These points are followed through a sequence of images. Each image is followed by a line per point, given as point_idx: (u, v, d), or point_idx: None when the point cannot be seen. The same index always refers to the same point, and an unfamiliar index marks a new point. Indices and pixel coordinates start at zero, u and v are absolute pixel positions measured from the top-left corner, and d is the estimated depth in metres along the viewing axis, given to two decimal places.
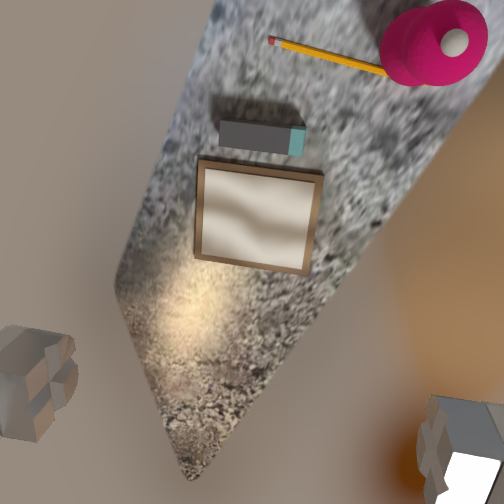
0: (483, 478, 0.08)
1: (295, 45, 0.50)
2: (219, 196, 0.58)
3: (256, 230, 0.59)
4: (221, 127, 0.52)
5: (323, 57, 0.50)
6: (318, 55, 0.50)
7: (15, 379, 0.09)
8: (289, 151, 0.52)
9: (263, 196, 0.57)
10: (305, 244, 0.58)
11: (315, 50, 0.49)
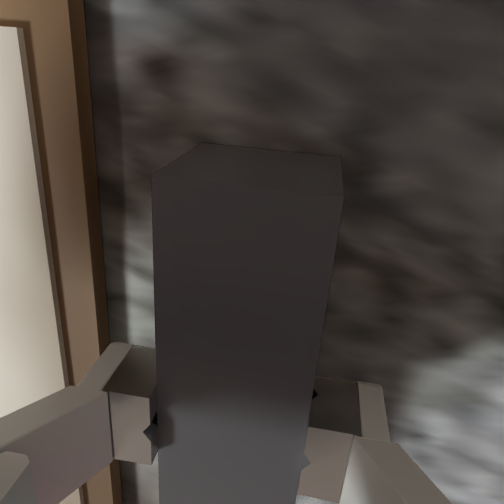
0: (338, 451, 0.08)
1: None
2: None
3: None
4: (288, 205, 0.07)
5: None
6: None
7: (138, 401, 0.08)
8: None
9: None
10: None
11: None
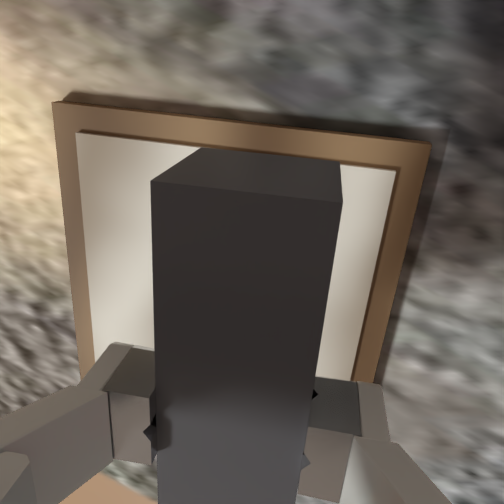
0: (338, 451, 0.08)
1: None
2: None
3: None
4: (287, 210, 0.07)
5: None
6: None
7: (137, 401, 0.08)
8: None
9: None
10: None
11: None
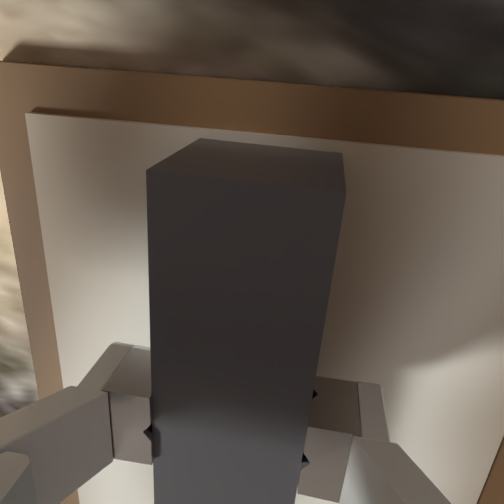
0: (337, 452, 0.08)
1: None
2: (403, 242, 0.10)
3: None
4: (288, 201, 0.07)
5: None
6: None
7: (138, 401, 0.08)
8: None
9: None
10: None
11: None
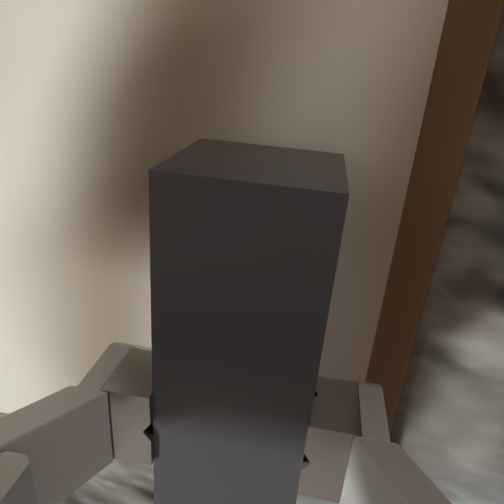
0: (338, 452, 0.08)
1: None
2: None
3: (83, 228, 0.11)
4: (291, 202, 0.07)
5: None
6: None
7: (137, 401, 0.08)
8: None
9: None
10: None
11: None
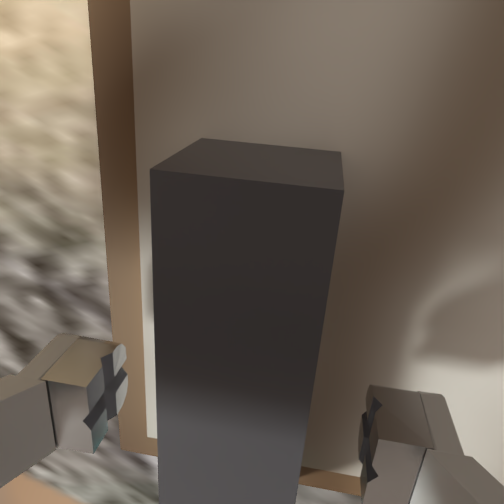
0: (408, 465, 0.08)
1: None
2: None
3: None
4: (288, 199, 0.07)
5: None
6: None
7: (75, 390, 0.09)
8: None
9: None
10: None
11: None
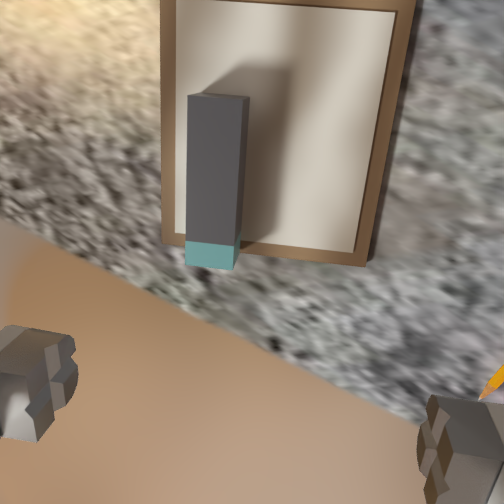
0: (483, 478, 0.08)
1: None
2: (325, 48, 0.25)
3: (248, 138, 0.27)
4: (227, 103, 0.24)
5: None
6: None
7: (15, 379, 0.09)
8: (192, 243, 0.27)
9: (326, 154, 0.27)
10: None
11: None
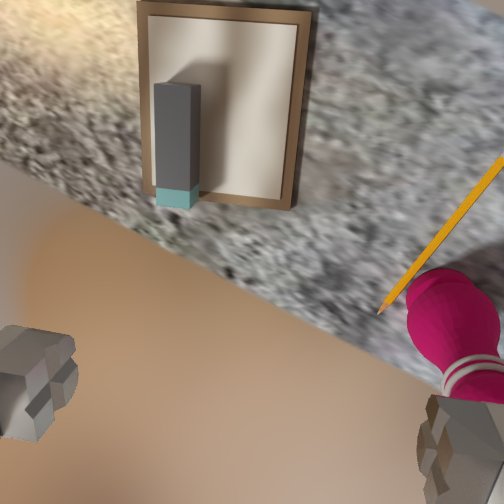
0: (483, 478, 0.08)
1: (494, 176, 0.36)
2: (251, 50, 0.35)
3: (201, 115, 0.38)
4: (180, 88, 0.34)
5: (462, 207, 0.38)
6: (467, 202, 0.38)
7: (15, 380, 0.09)
8: (160, 189, 0.38)
9: (256, 126, 0.38)
10: None
11: (475, 200, 0.37)
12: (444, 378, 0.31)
